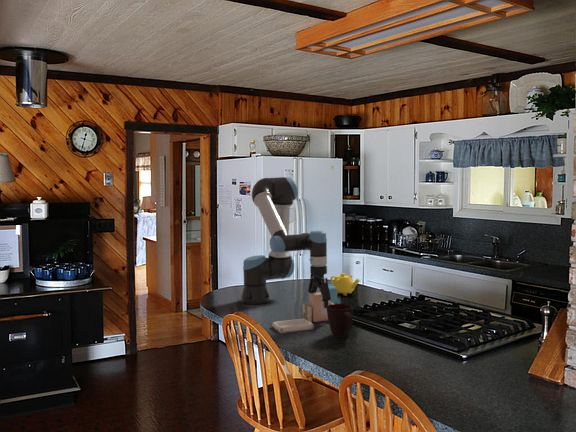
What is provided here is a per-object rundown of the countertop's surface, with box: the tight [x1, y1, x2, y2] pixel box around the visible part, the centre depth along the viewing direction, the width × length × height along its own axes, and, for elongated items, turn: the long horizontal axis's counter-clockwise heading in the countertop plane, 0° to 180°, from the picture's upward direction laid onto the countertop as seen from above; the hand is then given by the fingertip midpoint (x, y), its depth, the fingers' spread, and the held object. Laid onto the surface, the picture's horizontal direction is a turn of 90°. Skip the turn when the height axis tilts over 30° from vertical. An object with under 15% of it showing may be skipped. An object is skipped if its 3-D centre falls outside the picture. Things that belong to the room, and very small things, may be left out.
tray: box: [271, 317, 315, 334], centre depth 247 cm, size 11×15×2 cm
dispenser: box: [302, 301, 334, 324], centre depth 260 cm, size 8×13×7 cm, turn 110°
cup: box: [327, 303, 354, 338], centre depth 233 cm, size 10×14×12 cm
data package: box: [319, 283, 338, 304], centre depth 277 cm, size 12×4×12 cm, turn 16°
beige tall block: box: [308, 291, 330, 323], centre depth 260 cm, size 5×8×12 cm, turn 110°
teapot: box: [329, 272, 360, 297], centre depth 312 cm, size 14×14×11 cm
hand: (319, 311), depth 260 cm, fingers open, 13 cm apart
